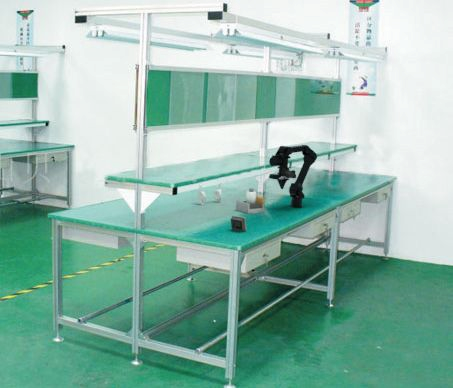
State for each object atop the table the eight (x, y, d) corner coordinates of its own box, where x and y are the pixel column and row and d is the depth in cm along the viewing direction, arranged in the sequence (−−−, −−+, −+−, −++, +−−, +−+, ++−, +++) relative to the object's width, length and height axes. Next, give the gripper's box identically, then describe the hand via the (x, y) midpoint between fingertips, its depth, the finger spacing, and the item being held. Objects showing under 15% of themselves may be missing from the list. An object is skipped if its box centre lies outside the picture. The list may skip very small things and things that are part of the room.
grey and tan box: (252, 207, 426) (252, 194, 425) (263, 211, 417) (264, 198, 415) (238, 209, 420) (238, 195, 418) (249, 212, 410) (250, 199, 409)
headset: (216, 201, 446) (217, 175, 443) (223, 202, 442) (225, 176, 439) (195, 204, 432) (196, 177, 429) (202, 206, 427) (203, 179, 424)
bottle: (255, 208, 420) (256, 188, 418) (254, 209, 415) (256, 189, 412) (245, 207, 421) (246, 187, 419) (245, 209, 415) (246, 189, 413)
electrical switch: (246, 230, 362) (246, 216, 360) (242, 233, 358) (242, 218, 356) (233, 228, 366) (233, 214, 364) (229, 230, 363) (229, 216, 360)
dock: (252, 208, 427) (252, 198, 426) (264, 212, 417) (265, 202, 415) (235, 209, 419) (236, 200, 418) (247, 213, 409) (248, 203, 408)
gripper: (280, 167, 414) (278, 191, 417) (302, 166, 425) (300, 190, 428) (269, 165, 423) (267, 189, 426) (291, 164, 434) (289, 187, 437)
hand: (281, 189), depth 429 cm, fingers closed
